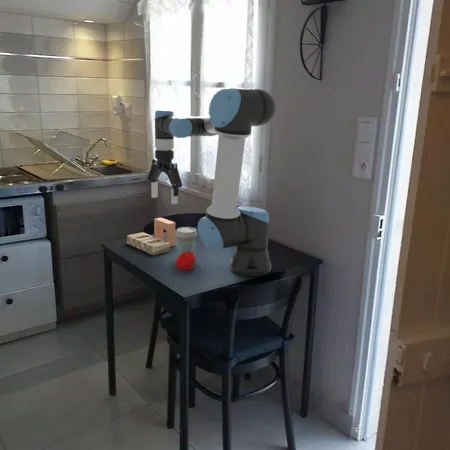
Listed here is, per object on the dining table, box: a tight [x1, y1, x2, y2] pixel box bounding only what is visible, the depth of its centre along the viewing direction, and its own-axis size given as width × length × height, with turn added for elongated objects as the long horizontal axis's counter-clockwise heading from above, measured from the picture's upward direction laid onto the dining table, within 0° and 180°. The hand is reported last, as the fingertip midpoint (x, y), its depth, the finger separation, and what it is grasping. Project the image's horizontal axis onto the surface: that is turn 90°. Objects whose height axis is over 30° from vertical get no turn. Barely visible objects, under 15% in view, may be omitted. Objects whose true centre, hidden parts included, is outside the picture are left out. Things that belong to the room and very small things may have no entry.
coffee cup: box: [175, 226, 199, 257], centre depth 185 cm, size 8×8×12 cm
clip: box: [153, 217, 176, 248], centre depth 204 cm, size 10×4×10 cm, turn 44°
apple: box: [175, 252, 196, 271], centre depth 177 cm, size 7×7×8 cm
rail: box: [126, 231, 171, 256], centre depth 199 cm, size 19×8×4 cm, turn 44°
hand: (164, 200), depth 200 cm, fingers open, 13 cm apart
